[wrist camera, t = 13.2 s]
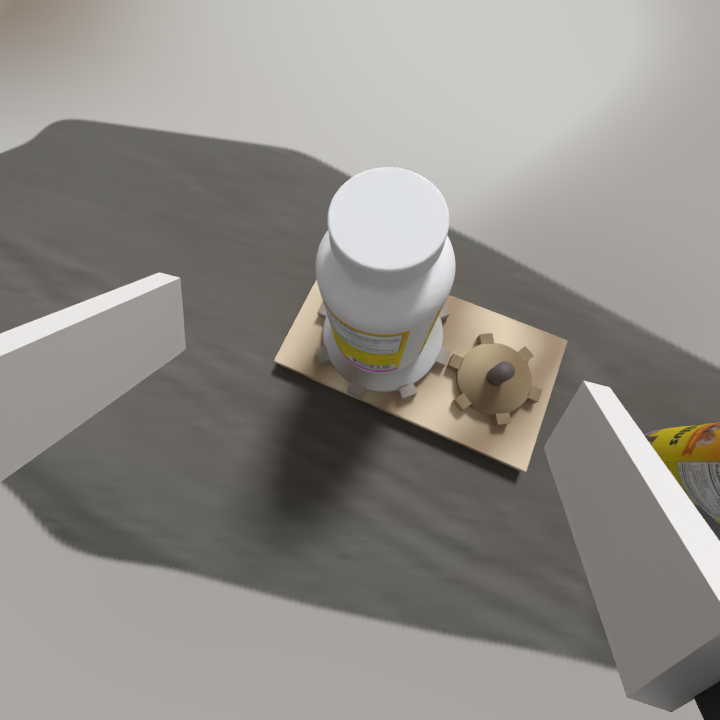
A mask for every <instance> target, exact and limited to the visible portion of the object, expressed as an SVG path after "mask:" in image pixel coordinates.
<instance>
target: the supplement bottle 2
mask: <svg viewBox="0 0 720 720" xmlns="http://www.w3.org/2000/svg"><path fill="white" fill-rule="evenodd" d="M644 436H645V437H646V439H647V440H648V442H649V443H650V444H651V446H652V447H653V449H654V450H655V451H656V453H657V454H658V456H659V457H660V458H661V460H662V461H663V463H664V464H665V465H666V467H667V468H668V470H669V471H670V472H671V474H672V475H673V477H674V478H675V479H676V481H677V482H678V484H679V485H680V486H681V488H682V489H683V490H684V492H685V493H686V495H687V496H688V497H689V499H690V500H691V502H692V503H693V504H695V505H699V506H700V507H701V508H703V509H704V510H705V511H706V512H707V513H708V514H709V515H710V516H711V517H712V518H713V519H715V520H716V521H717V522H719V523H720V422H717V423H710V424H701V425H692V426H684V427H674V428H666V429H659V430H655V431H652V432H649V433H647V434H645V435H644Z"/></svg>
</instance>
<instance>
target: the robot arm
mask: <svg viewBox="0 0 720 720" xmlns="http://www.w3.org/2000/svg"><path fill="white" fill-rule="evenodd" d="M184 350H186V344H185V331H184V319H183V306H182V293H181V280H180V278H179V277H175V276H171V275H167V274H163V273H157V274H154V275H152V276H149V277H146V278H144V279H141V280H139V281H136V282H133V283H131V284H128V285H126V286H123V287H120V288H118V289H115V290H113V291H110V292H107V293H105V294H102V295H99V296H97V297H94V298H92V299H89V300H86V301H84V302H81V303H79V304H76V305H73V306H71V307H68V308H66V309H63V310H60V311H58V312H55V313H53V314H50V315H47V316H45V317H42V318H40V319H37V320H34V321H32V322H29V323H27V324H24V325H21V326H19V327H16V328H14V329H11V330H8V331H6V332H3V333H1V334H0V482H1V481H3V480H4V479H5V478H7V477H8V476H10V475H11V474H12V473H14V472H15V471H17V470H18V469H19V468H21V467H22V466H24V465H25V464H26V463H28V462H29V461H31V460H32V459H33V458H35V457H36V456H38V455H39V454H40V453H42V452H43V451H45V450H46V449H47V448H49V447H50V446H51V445H53V444H54V443H56V442H57V441H58V440H60V439H61V438H63V437H64V436H65V435H67V434H68V433H70V432H71V431H72V430H74V429H75V428H77V427H78V426H79V425H81V424H82V423H84V422H85V421H86V420H88V419H89V418H91V417H92V416H93V415H95V414H96V413H98V412H99V411H100V410H102V409H103V408H105V407H106V406H107V405H109V404H110V403H112V402H113V401H114V400H116V399H117V398H119V397H120V396H121V395H123V394H124V393H126V392H127V391H128V390H130V389H131V388H132V387H134V386H135V385H137V384H138V383H139V382H141V381H142V380H144V379H145V378H146V377H148V376H149V375H151V374H152V373H153V372H155V371H156V370H158V369H159V368H160V367H162V366H163V365H165V364H166V363H167V362H169V361H170V360H172V359H173V358H174V357H176V356H177V355H179V354H180V353H181V352H183V351H184ZM544 450H545V453H546V456H547V459H548V462H549V465H550V468H551V471H552V474H553V477H554V480H555V483H556V486H557V489H558V492H559V495H560V498H561V501H562V504H563V507H564V510H565V513H566V516H567V519H568V522H569V525H570V528H571V531H572V534H573V537H574V540H575V543H576V546H577V549H578V552H579V555H580V558H581V561H582V564H583V567H584V570H585V573H586V576H587V579H588V582H589V585H590V588H591V591H592V594H593V597H594V600H595V603H596V606H597V609H598V612H599V615H600V618H601V621H602V624H603V627H604V630H605V633H606V636H607V639H608V642H609V645H610V648H611V651H612V654H613V657H614V660H615V663H616V666H617V669H618V672H619V675H620V678H621V680H622V684H623V686H624V690H625V692H626V696H627V698H630V699H634V700H637V701H640V702H643V703H646V704H649V705H652V706H655V707H658V708H661V709H664V710H667V711H670V712H672V711H674V710H676V709H678V708H679V707H681V706H683V705H684V704H686V703H688V702H690V701H691V700H693V699H695V701H696V703H697V705H698V708H699V710H700V712H701V714H702V716H703V718H704V720H720V524H719V523H718V522H717V521H716V520H715V519H713V518H712V517H711V516H710V515H709V514H708V513H707V512H706V511H705V510H704V509H703V508H701V507H700V506H699V505H695V504H693V503H692V502H691V500H690V499H689V497H688V496H687V495H686V493H685V492H684V490H683V489H682V488H681V486H680V485H679V484H678V482H677V481H676V479H675V478H674V477H673V475H672V474H671V472H670V471H669V470H668V468H667V467H666V465H665V464H664V463H663V461H662V460H661V458H660V457H659V456H658V454H657V453H656V451H655V450H654V449H653V447H652V446H651V444H650V443H649V442H648V440H647V439H646V437H645V436H644V435H643V433H642V432H641V430H640V429H639V428H638V426H637V425H636V423H635V422H634V421H633V419H632V418H631V416H630V415H629V414H628V412H627V411H626V410H625V408H624V407H623V405H622V404H621V403H620V401H619V400H618V398H617V397H616V396H615V394H614V393H613V391H612V390H611V389H610V387H606V386H602V385H598V384H594V383H590V382H586V381H583V382H582V384H581V385H580V387H579V389H578V390H577V392H576V394H575V396H574V397H573V399H572V401H571V402H570V404H569V406H568V407H567V409H566V411H565V412H564V414H563V416H562V417H561V419H560V421H559V422H558V424H557V426H556V428H555V429H554V431H553V433H552V434H551V436H550V438H549V439H548V441H547V443H546V444H545V446H544Z"/></svg>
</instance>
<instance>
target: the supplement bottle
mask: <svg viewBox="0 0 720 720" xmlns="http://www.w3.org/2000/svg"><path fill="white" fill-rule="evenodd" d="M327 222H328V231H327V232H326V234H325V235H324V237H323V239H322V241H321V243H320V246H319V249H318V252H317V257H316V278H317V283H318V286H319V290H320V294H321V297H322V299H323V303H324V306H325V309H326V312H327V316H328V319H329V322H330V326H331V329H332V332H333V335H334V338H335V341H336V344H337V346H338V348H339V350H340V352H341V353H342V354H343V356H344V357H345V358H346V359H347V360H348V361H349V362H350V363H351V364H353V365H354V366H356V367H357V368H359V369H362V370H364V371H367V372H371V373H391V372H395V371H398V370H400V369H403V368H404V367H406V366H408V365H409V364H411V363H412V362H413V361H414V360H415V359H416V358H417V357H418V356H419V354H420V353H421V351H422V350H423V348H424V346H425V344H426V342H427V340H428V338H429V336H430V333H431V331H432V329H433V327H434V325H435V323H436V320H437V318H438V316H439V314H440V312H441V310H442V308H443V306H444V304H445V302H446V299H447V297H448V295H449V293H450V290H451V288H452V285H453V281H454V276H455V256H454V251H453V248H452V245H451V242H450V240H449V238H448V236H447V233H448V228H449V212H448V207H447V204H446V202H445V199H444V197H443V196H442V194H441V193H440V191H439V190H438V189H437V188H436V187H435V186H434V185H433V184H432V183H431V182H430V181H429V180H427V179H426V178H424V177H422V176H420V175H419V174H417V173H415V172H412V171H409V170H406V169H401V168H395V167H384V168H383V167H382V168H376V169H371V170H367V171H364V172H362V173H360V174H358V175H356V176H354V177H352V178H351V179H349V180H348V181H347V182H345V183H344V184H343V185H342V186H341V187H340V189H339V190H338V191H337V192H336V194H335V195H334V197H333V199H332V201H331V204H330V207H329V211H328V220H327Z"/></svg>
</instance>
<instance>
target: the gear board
mask: <svg viewBox="0 0 720 720" xmlns="http://www.w3.org/2000/svg"><path fill="white" fill-rule="evenodd" d="M567 341H568V340H565V339H562V338H560V337H557V336H555V335H552V334H549V333H547V332H544V331H542V330H539V329H536V328H534V327H531V326H529V325H526V324H523V323H521V322H518V321H516V320H513V319H510V318H508V317H505V316H503V315H500V314H497V313H495V312H492V311H490V310H487V309H484V308H482V307H479V306H477V305H474V304H472V303H469V302H466V301H464V300H461V299H459V298H456V297H453V296H451V295H448V297H447V299H446V302H445V304H444V306H443V308H442V310H441V312H440V314H439V316H438V318H437V320H436V323H435V325H434V327H433V329H432V331H431V333H430V336H429V338H428V340H427V342H426V344H425V346H424V348H423V350H422V351H421V353H420V354H419V356H418V357H417V358H416V359H415V360H414V361H413V362H412V363H411V364H409V365H408V366H406V367H404V368H403V369H400V370H398V371H395V372H391V373H371V372H367V371H364V370H362V369H359V368H357V367H356V366H354V365H353V364H351V363H350V362H349V361H348V360H347V359H346V358H345V357H344V356H343V354H342V353H341V352H340V350H339V348H338V346H337V344H336V341H335V338H334V335H333V332H332V329H331V326H330V322H329V319H328V316H327V312H326V309H325V306H324V303H323V299H322V297H321V294H320V290H319V286H318V283H317V280H316V282H315V283H314V285H313V287H312V289H311V291H310V293H309V295H308V297H307V299H306V301H305V302H304V304H303V306H302V308H301V310H300V312H299V314H298V316H297V318H296V320H295V322H294V323H293V325H292V327H291V329H290V331H289V333H288V335H287V337H286V339H285V341H284V342H283V344H282V346H281V348H280V350H279V352H278V354H277V356H276V358H275V360H274V361H275V362H276V363H277V364H278V365H281V366H283V367H285V368H288V369H290V370H292V371H294V372H297V373H299V374H301V375H303V376H306V377H308V378H310V379H312V380H315V381H317V382H319V383H322V384H324V385H326V386H328V387H331V388H333V389H335V390H337V391H340V392H342V393H344V394H346V395H349V396H351V397H353V398H355V399H358V400H360V401H362V402H365V403H367V404H369V405H371V406H374V407H376V408H378V409H380V410H383V411H385V412H387V413H389V414H392V415H394V416H396V417H399V418H401V419H403V420H405V421H408V422H410V423H412V424H414V425H417V426H419V427H421V428H423V429H426V430H428V431H430V432H433V433H435V434H437V435H439V436H442V437H444V438H446V439H448V440H451V441H453V442H455V443H457V444H460V445H462V446H464V447H466V448H469V449H471V450H473V451H476V452H478V453H480V454H482V455H485V456H487V457H489V458H491V459H494V460H496V461H498V462H500V463H503V464H505V465H507V466H510V467H512V468H514V469H516V470H519V471H525V472H526V470H527V467H528V464H529V461H530V458H531V455H532V451H533V448H534V445H535V442H536V439H537V436H538V433H539V429H540V426H541V423H542V420H543V417H544V414H545V410H546V407H547V404H548V401H549V398H550V395H551V392H552V388H553V385H554V382H555V379H556V376H557V373H558V369H559V366H560V363H561V360H562V357H563V354H564V350H565V347H566V344H567Z"/></svg>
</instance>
